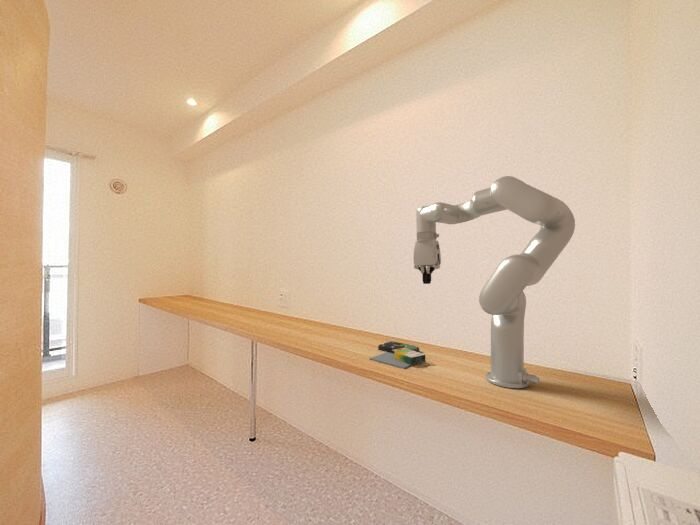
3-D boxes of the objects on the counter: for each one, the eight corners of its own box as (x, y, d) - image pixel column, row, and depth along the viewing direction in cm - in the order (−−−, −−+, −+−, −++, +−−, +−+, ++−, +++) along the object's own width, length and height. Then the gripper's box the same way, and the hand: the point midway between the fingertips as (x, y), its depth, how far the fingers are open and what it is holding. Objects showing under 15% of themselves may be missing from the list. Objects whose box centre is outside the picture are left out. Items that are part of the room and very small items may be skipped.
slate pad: (421, 361, 119) (421, 360, 119) (404, 368, 110) (404, 367, 110) (387, 353, 130) (387, 352, 130) (369, 359, 121) (369, 358, 121)
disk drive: (377, 351, 135) (407, 357, 125) (377, 345, 135) (407, 351, 125) (391, 346, 142) (419, 352, 132) (391, 340, 142) (419, 346, 133)
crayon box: (425, 362, 116) (404, 354, 126) (425, 354, 116) (404, 347, 126) (411, 365, 112) (391, 357, 122) (411, 357, 112) (391, 349, 122)
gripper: (448, 237, 120) (448, 283, 120) (414, 239, 130) (414, 282, 130) (439, 235, 115) (440, 284, 114) (405, 238, 124) (405, 283, 124)
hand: (426, 283), depth 122 cm, fingers closed
